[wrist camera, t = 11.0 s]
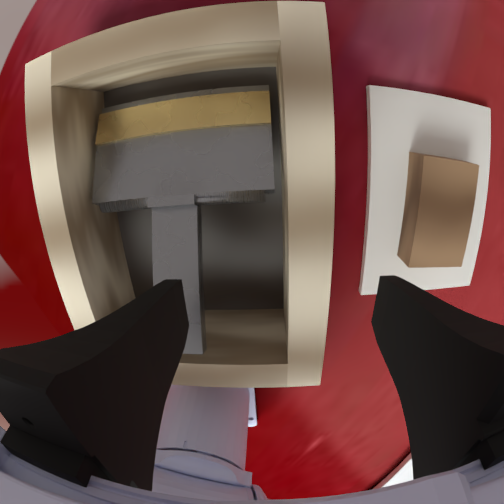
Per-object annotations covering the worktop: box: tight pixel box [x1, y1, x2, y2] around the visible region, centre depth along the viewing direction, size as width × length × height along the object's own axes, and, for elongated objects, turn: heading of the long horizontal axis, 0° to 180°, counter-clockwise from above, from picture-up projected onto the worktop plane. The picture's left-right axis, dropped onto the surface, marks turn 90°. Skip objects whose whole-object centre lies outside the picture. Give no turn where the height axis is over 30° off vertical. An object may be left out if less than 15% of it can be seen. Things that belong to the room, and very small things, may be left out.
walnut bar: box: [397, 152, 479, 268], centre depth 17 cm, size 7×4×2 cm, turn 1°
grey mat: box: [359, 85, 491, 295], centre depth 18 cm, size 14×10×1 cm
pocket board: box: [25, 1, 335, 388], centre depth 16 cm, size 20×15×6 cm
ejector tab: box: [92, 85, 275, 354], centre depth 15 cm, size 14×10×2 cm
